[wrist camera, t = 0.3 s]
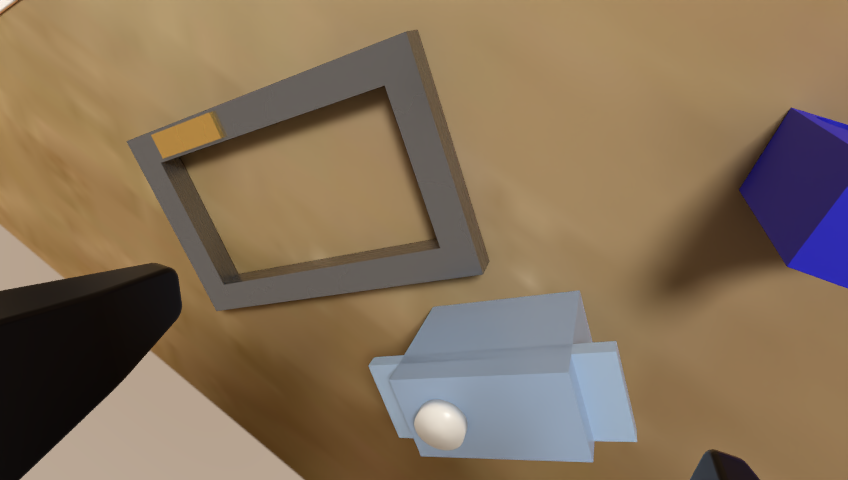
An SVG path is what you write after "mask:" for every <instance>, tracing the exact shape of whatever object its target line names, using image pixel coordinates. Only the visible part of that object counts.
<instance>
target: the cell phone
mask: <svg viewBox="0 0 848 480" xmlns="http://www.w3.org/2000/svg"><path fill="white" fill-rule="evenodd" d="M17 1H18V0H0V14H1V13H2V12H4V11H5V10H6V9H8V8H9V7H10V6H12V5H13V4H14V3H16V2H17Z"/></svg>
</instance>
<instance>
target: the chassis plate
mask: <svg viewBox="0 0 848 480" xmlns="http://www.w3.org/2000/svg"><path fill="white" fill-rule="evenodd" d="M382 86H385V88H386V91H387V94H388V97H389V100H390V103H391V106H392V109H393V112H394V115H395V117H396V120H397V123H398V126H399V129H400V132H401V135H402V138H403V141H404V144H405V147H406V150H407V152H408V155H409V158H410V161H411V164H412V167H413V170H414V173H415V176H416V179H417V182H418V185H419V187H420V190H421V193H422V196H423V199H424V202H425V205H426V208H427V211H428V214H429V217H430V220H431V223H432V225H433V228H434V231H435V234H436V237H437V239H433V240H427V241H422V242H416V243H410V244H405V245H399V246H394V247H388V248H382V249H377V250H371V251H366V252H360V253H354V254H349V255H343V256H338V257H332V258H326V259H321V260H315V261H310V262H304V263H298V264H293V265H287V266H282V267H276V268H270V269H265V270H259V271H254V272H248V273H242V274H238V273H237V271H236V269H235V267H234V265H233V263H232V261H231V259H230V257H229V255H228V253H227V251H226V249H225V247H224V245H223V243H222V241H221V239H220V237H219V235H218V233H217V231H216V229H215V227H214V225H213V223H212V221H211V219H210V217H209V215H208V213H207V211H206V209H205V207H204V205H203V203H202V201H201V199H200V197H199V195H198V193H197V191H196V189H195V187H194V185H193V183H192V181H191V179H190V177H189V175H188V173H187V171H186V169H185V167H184V165H183V163H182V161H181V159H180V157H179V156H182V155H185V154H188V153H191V152H194V151H196V150H199V149H202V148H205V147H208V146H211V145H214V144H217V143H220V142H222V141H225V140H228V139H231V138H234V137H237V136H240V135H243V134H246V133H249V132H251V131H254V130H257V129H260V128H263V127H266V126H269V125H272V124H275V123H277V122H280V121H283V120H286V119H289V118H292V117H295V116H298V115H301V114H304V113H306V112H309V111H312V110H315V109H318V108H321V107H324V106H327V105H330V104H332V103H335V102H338V101H341V100H344V99H347V98H350V97H353V96H356V95H358V94H361V93H364V92H367V91H370V90H373V89H376V88H379V87H382ZM127 143H128V145H129V147H130V149H131V150H132V152H133V154H134V156H135V158H136V160H137V162H138V164H139V166H140V167H141V169H142V171H143V173H144V175H145V177H146V179H147V181H148V183H149V184H150V186H151V188H152V190H153V192H154V194H155V196H156V198H157V200H158V201H159V203H160V205H161V207H162V209H163V211H164V213H165V215H166V216H167V218H168V220H169V222H170V224H171V226H172V228H173V230H174V232H175V233H176V235H177V237H178V239H179V241H180V243H181V245H182V247H183V249H184V250H185V252H186V254H187V256H188V258H189V260H190V262H191V264H192V266H193V267H194V269H195V271H196V273H197V275H198V277H199V279H200V281H201V283H202V284H203V286H204V288H205V290H206V292H207V294H208V296H209V298H210V300H211V301H212V303H213V305H214V307H215V309H216V311H220V310H227V309H235V308H242V307H249V306H257V305H264V304H271V303H278V302H286V301H293V300H300V299H307V298H315V297H322V296H329V295H337V294H344V293H351V292H358V291H366V290H373V289H380V288H387V287H395V286H402V285H409V284H416V283H424V282H431V281H438V280H446V279H453V278H460V277H467V276H475V275H482V274H483V273H484V271H485V269H486V267H487V265H488V263H489V259H488V256H487V252H486V249H485V246H484V243H483V239H482V236H481V233H480V230H479V227H478V223H477V220H476V217H475V214H474V210H473V207H472V204H471V201H470V197H469V194H468V191H467V188H466V185H465V181H464V178H463V175H462V172H461V168H460V165H459V162H458V159H457V156H456V152H455V149H454V146H453V143H452V139H451V136H450V133H449V130H448V126H447V123H446V120H445V117H444V114H443V110H442V107H441V104H440V101H439V97H438V94H437V91H436V88H435V85H434V81H433V78H432V75H431V72H430V68H429V65H428V62H427V59H426V55H425V52H424V49H423V46H422V43H421V39H420V36H419V33H418V30H413V31H407V32H404V33H401V34H399V35H396V36H394V37H391V38H389V39H386V40H383V41H381V42H378V43H376V44H373V45H371V46H368V47H366V48H363V49H360V50H358V51H355V52H353V53H350V54H348V55H345V56H343V57H340V58H338V59H335V60H332V61H330V62H327V63H325V64H322V65H320V66H317V67H315V68H312V69H310V70H307V71H304V72H302V73H299V74H297V75H294V76H292V77H289V78H287V79H284V80H281V81H279V82H276V83H274V84H271V85H269V86H266V87H264V88H261V89H259V90H256V91H253V92H251V93H248V94H246V95H243V96H241V97H238V98H236V99H233V100H230V101H228V102H225V103H223V104H220V105H218V106H215V107H213V108H210V109H208V110H205V111H202V112H200V113H197V114H195V115H192V116H190V117H187V118H185V119H182V120H180V121H177V122H174V123H172V124H169V125H167V126H164V127H162V128H159V129H157V130H154V131H151V132H149V133H146V134H144V135H141V136H139V137H136V138H134V139H131V140H129V141H127Z"/></svg>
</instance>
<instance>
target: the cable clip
mask: <svg viewBox="0 0 848 480" xmlns="http://www.w3.org/2000/svg"><path fill="white" fill-rule="evenodd" d="M739 191H740V192H741V194H742V196H743V197H744V199H745V200H746V202H747V204H748V205H749V207H750V208H751V210H752V212H753V213H754V215H755V216H756V218H757V220H758V221H759V223H760V224H761V226H762V228H763V229H764V231H765V232H766V234H767V236H768V237H769V239H770V240H771V242H772V243H773V245H774V247H775V248H776V250H777V251H778V253H779V255H780V256H781V258H782V259H783V261H784V263H785V264H786V266H787V267H790V268H793V269H795V270H798V271H801V272H804V273H806V274H809V275H812V276H815V277H818V278H820V279H823V280H826V281H829V282H831V283H834V284H837V285H840V286H843V287H845V288H848V125H846V124H843V123H840V122H837V121H833V120H830V119H827V118H823V117H820V116H817V115H814V114H810V113H807V112H804V111H800V110H797V109H794V108H791V109H790V110H789V112H788V113H787V115H786V117H785V118H784V120H783V121H782V123H781V124H780V126H779V128H778V129H777V131H776V132H775V134H774V135H773V137H772V139H771V140H770V142H769V143H768V145H767V147H766V148H765V150H764V151H763V153H762V154H761V156H760V158H759V159H758V161H757V162H756V164H755V165H754V167H753V169H752V170H751V172H750V173H749V175H748V176H747V178H746V180H745V181H744V183H743V184H742V186H741V188H740V189H739Z"/></svg>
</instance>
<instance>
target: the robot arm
mask: <svg viewBox="0 0 848 480" xmlns="http://www.w3.org/2000/svg"><path fill="white" fill-rule="evenodd" d="M181 310H182V301H181V294H180V287H179V279H178V275H177V273H176V271H175V270H174V269H172V268H170V267H167V266H164V265H161V264H157V263H149V264H143V265H138V266H133V267H127V268H122V269H116V270H111V271H106V272H100V273H95V274H89V275H84V276H78V277H73V278H68V279H62V280H57V281H51V282H46V283H41V284H35V285H30V286H24V287H19V288H13V289H8V290H3V291H0V480H20V479H21V478H22V477H23V476H24V475H25V474H26V473H27V472H28V471H29V470H30V469H31V468H32V467H33V466H34V465H35V464H37V463H38V462H39V461H40V460H41V459H42V458H43V457H44V456H45V455H46V454H47V453H48V452H49V451H50V450H51V449H52V448H53V447H54V446H55V445H56V444H58V443H59V442H60V441H61V440H62V439H63V438H64V437H65V436H66V435H67V434H68V433H69V432H70V431H71V430H72V429H73V428H74V427H75V426H76V425H77V424H78V423H79V422H81V421H82V420H83V419H84V418H85V417H86V416H87V415H88V414H89V413H90V412H91V411H92V410H93V409H94V408H95V407H96V406H97V405H98V404H99V403H100V402H101V401H103V399H105V398H106V397H107V396H108V395H109V394H110V393H111V392H112V391H113V390H114V389H115V388H116V387H117V386H118V385H119V384H120V383H121V382H122V381H123V380H124V378H126V376H127V375H128V374H129V373H130V372H131V371H132V370H133V369H134V368H135V366H136V365H137V364H138V363H139V362H140V361H141V360H142V358H143V357H144V356H145V355H146V354H147V353H148V352H149V351H150V349H151V348H152V347H153V346H154V345H155V344H156V343H157V341H158V340H159V339H160V338H161V337H162V336H163V335H164V333H165V332H166V331H167V330H168V329H169V328H170V327H171V326H172V324H173V323H174V322H175V321H176V320H177V318H178V317H179V315H180V313H181ZM690 480H760V479H759V478H758V477H757V475H756V474H755V473H754V472H753V471H752V469H751V468H750V467H749V466H748V464H747V463H746V462H745V461H743V460H742V459H740V458H738V457H736V456H733V455H730V454H727V453H724V452H721V451H718V450H714V449H712V450H708V451H707V452H705V454H704V455H703V457H702V458H701V460H700V462H699V464H698V466H697V468H696V469H695V471H694V473H693V475H692V477H691V479H690Z"/></svg>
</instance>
